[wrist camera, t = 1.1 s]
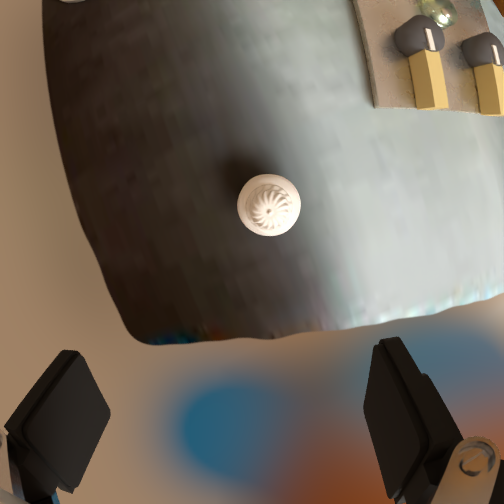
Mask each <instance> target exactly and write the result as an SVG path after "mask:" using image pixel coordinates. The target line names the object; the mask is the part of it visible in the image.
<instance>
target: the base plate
mask: <svg viewBox="0 0 504 504" xmlns="http://www.w3.org/2000/svg"><path fill="white" fill-rule="evenodd" d="M352 1H353V4H354V8H355V12H356V16H357V20H358V24H359V28H360V32H361V36H362V41H363V45H364V50H365V55H366V60H367V65H368V70H369V76H370V82H371V88H372V94H373V101H374V108H394V109H417V105H416V98H415V92H414V85H413V80H412V74H411V69H410V63H409V59H408V57H407V56H405V55H404V54H403V53H402V52H401V51H400V50H399V49H398V47H397V45H396V43H395V39H394V34H395V31H396V29H397V28H398V27H400V26H401V25H402V24H404V23H405V22H407V21H408V20H409V19H411V18H412V17H413V16H415V15H425V16H427V17H429V18H431V19H433V20H434V21H435V22H436V23H437V24H438V25H439V26H440V28H441V29H442V31H443V34H444V37H445V45H444V47H443V49H442V50H440V51H439V54H440V59H441V64H442V69H443V74H444V79H445V85H446V91H447V98H448V105H449V108H444V109H436V110H441V111H453V112H464V113H473V114H481V111H480V103H479V96H478V89H477V83H476V78H475V72H474V67H472V66H471V65H470V64H469V63H468V61H467V60H466V58H465V56H464V53H463V49H462V45H463V42H464V40H465V39H468V38H470V37H473V36H475V35H478V34H481V33H484V32H490V31H489V28H488V24H487V21H486V18H485V15H484V12H483V9H482V6H481V3H480V0H352ZM496 117H504V116H496Z"/></svg>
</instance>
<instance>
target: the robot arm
mask: <svg viewBox="0 0 504 504" xmlns="http://www.w3.org/2000/svg"><path fill="white" fill-rule="evenodd" d="M61 1H63V2H66V3H77V2H81V1H85V0H61ZM363 409H364V415H365V419H366V422H367V425H368V429H369V432H370V435H371V438H372V442H373V445H374V449H375V452H376V456H377V459H378V463H379V466H380V470H381V474H382V478H383V481H384V485H385V489H386V493H387V496H388V498H389V499H392V498H394V501H395V504H402V503H405V502H406V504H504V460H501V459H500V458H501V456H500V452H499V449H498V447H497V446H496V444H495V443H493V442H492V441H491V440H490V439H487V438H485V437H479V436H478V437H477V436H474V437H469V438H467V439H463V437H462V435H461V433H460V431H459V429H458V427H457V425H456V423H455V422H454V420H453V418H452V416H451V414H450V412H449V411H448V409H447V407H446V405H445V403H444V402H443V400H442V398H441V396H440V395H439V393H438V391H437V389H436V388H435V386H434V384H433V382H432V381H431V379H430V378H429V376H428V375H427V374H425V373H423V374H421V372H420V371H419V369H418V367H417V365H416V364H415V362H414V360H413V359H412V357H411V355H410V354H409V352H408V350H407V349H406V347H405V345H404V344H403V342H402V340H401V339H400V338H399V337H392V338H386V339H381V340H380V341H379V344H378V345H375V346H374V348H373V354H372V361H371V366H370V372H369V378H368V384H367V389H366V395H365V400H364V406H363ZM109 419H110V409H109V407H108V405H107V403H106V401H105V399H104V398H103V395H102V394H101V392H100V390H99V388H98V386H97V384H96V382H95V380H94V378H93V376H92V374H91V372H90V369H89V367H88V365H87V363H86V361H85V359H84V357H83V356H81V354H80V353H79V352H78V351H73V350H62V351H61V352H60V353H59V354H58V356H57V357H56V358H55V359H54V361H53V362H52V363H51V364H50V366H49V367H48V368H47V369H46V371H45V372H44V373H43V374H42V376H41V377H40V378H39V379H38V381H37V382H36V383H35V385H34V386H33V387H32V389H31V390H30V391H29V393H28V394H27V395H26V396H25V398H24V399H23V401H22V402H21V403H20V404H19V406H18V407H17V409H16V410H15V412H14V413H13V414H12V415H11V417H10V418H9V420H8V421H7V422H6V424H5V425H4V427H5V428H6V430H7V431H8V432H9V434H8V435H6V434H5V433H4V431H2V430H1V429H0V504H60V502H59V500H58V496H57V493H56V488H57V486H58V487H59V488H60V489H61V490H63V491H66V492H69V493H71V494H73V491H74V489H75V488H76V487H78V486H79V484H80V482H81V480H82V477H83V475H84V473H85V471H86V468H87V466H88V464H89V462H90V459H91V457H92V455H93V453H94V451H95V448H96V446H97V444H98V442H99V440H100V438H101V435H102V433H103V431H104V429H105V427H106V425H107V423H108V421H109Z"/></svg>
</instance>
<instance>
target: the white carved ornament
mask: <svg viewBox="0 0 504 504" xmlns="http://www.w3.org/2000/svg"><path fill="white" fill-rule="evenodd" d="M300 205H301V204H300V197H299V194H298V192H297V190H296V188H295V187H294V185H293V184H292V183H291V182H290V181H289V180H287V179H285V178H284V177H281V176H278V175H274V174H263V175H258V176H255V177H253V178H252V179H250V180H249V181H248V182H247V183H246V184H245V185H244V187H243V188H242V190H241V192H240V194H239V197H238V202H237V208H238V213H239V216H240V219H241V220H242V222H243V223H244V225H245V226H246V227H247V228H248V229H250V230H251V231H253V232H255V233H257V234H260V235H264V236H275V235H279V234H282V233H284V232H286V231H287V230H289V229H290V228H291V227H292V226H293V224H294V223H295V221H296V220H297V218H298V215H299V212H300Z"/></svg>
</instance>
